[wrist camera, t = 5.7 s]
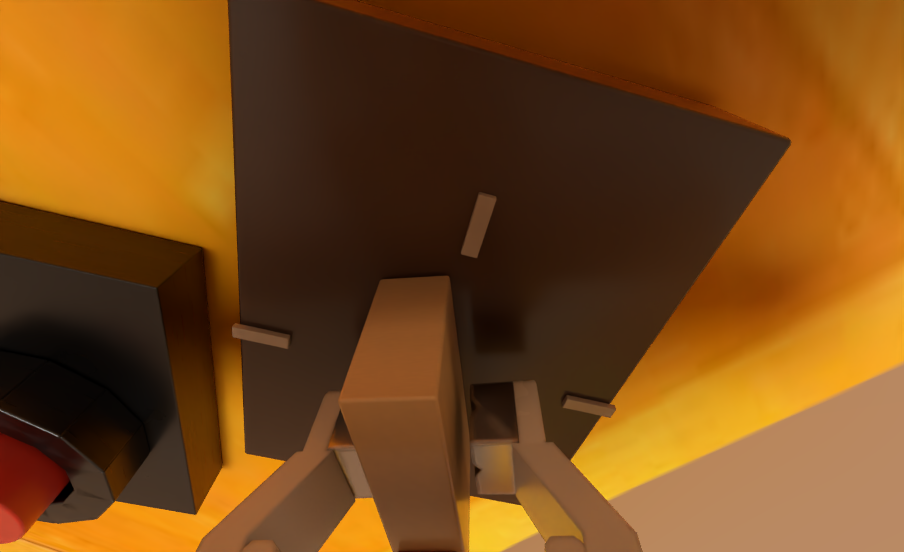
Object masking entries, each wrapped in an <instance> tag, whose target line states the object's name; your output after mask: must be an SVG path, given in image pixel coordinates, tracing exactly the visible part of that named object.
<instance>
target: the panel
mask: <svg viewBox="0 0 904 552" xmlns="http://www.w3.org/2000/svg"><path fill="white" fill-rule="evenodd" d="M228 18H229V44H230V70H231V96H232V122H233V148H234V174H235V200H236V226H237V252H238V278H239V304H240V324H237V323H234V325H233V326H232V337H234V338H239V339H241V355H242V381H243V407H244V433H245V453H247V454H251V455H256V456H262V457H267V458H272V459H278V460H283V461H287V460H288V459H289V458H290V457H291V456H292V455H293V454H294V453H296V452H299V451H303V449H304V446H305V444H306V441H307V439H308V436H309V434H310V431H311V428H312V426H313V423H314V421H315V418H316V416H317V413H318V410H319V408H320V405H321V403H322V400H323V398H324V396H325V395H326V394H327V392H328V391H341V390H342V387H343V385H344V382H345V379H346V376H347V373H348V370H349V367H350V365H351V362H352V359H353V356H354V353H355V350H356V347H357V345H358V342H359V339H360V336H361V333H362V330H363V327H364V325H365V322H366V319H367V316H368V313H369V310H370V307H371V305H372V302H373V299H374V296H375V293H376V290H377V287H378V285H379V282H380V280H382V279H396V278H413V277H430V276H446V275H447V276H449V278H450V283H451V291H452V299H453V307H454V315H455V323H456V331H457V339H458V347H459V356H460V364H461V372H462V380H463V388H464V396H465V404H466V412H467V420H468V428H469V432H470V415H471V413H472V411H471V403H470V385H471V384H479V383H494V382H509V381H512V382H513V381H530V380H534V381H535V382H536V384H537V390H538V396H539V402H540V408H541V414H542V421H543V427H544V433H545V439H546V442H553V443H554V444H555V445H556V446H557V447H558V448H559V449H560V450H561V451H562V452H563V453H564V455H565V456H566V457H567V458H568V459H569V460H571V459H572V457H573V456H574V454H575V453H576V452H577V450H578V449H579V447H580V446H581V444H582V443H583V442H584V440H585V439H586V437H587V436H588V434H589V433H590V431H591V430H592V429H593V427H594V426H595V424H596V423H597V421H598V420H599V419H600V417H601V416H605V417H609V418H610V417H611V416H612V415H613V413H614V412H615V410H616V408H615V405H611V404H610V403H611V401H612V400H613V399H614V397H615V396H616V394H617V393H618V391H619V390H620V389H621V387H622V386H623V384H624V383H625V381H626V380H627V378H628V377H629V376H630V374H631V373H632V371H633V370H634V368H635V367H636V366H637V364H638V363H639V361H640V360H641V358H642V357H643V356H644V354H645V353H646V351H647V350H648V348H649V347H650V346H651V344H652V343H653V341H654V340H655V338H656V337H657V335H658V334H659V333H660V331H661V330H662V328H663V327H664V325H665V324H666V323H667V321H668V320H669V318H670V317H671V315H672V314H673V313H674V311H675V310H676V308H677V307H678V305H679V304H680V303H681V301H682V300H683V298H684V297H685V295H686V294H687V292H688V291H689V290H690V288H691V287H692V285H693V284H694V282H695V281H696V280H697V278H698V277H699V275H700V274H701V272H702V271H703V270H704V268H705V267H706V265H707V264H708V262H709V261H710V260H711V258H712V257H713V255H714V254H715V252H716V251H717V250H718V248H719V247H720V245H721V244H722V242H723V241H724V239H725V238H726V237H727V235H728V234H729V232H730V231H731V229H732V228H733V227H734V225H735V224H736V222H737V221H738V219H739V218H740V217H741V215H742V214H743V212H744V211H745V209H746V208H747V207H748V205H749V204H750V202H751V201H752V199H753V198H754V196H755V195H756V194H757V192H758V191H759V189H760V188H761V186H762V185H763V184H764V182H765V181H766V179H767V178H768V176H769V175H770V174H771V172H772V171H773V169H774V168H775V166H776V165H777V164H778V162H779V161H780V159H781V158H782V156H783V155H784V153H785V152H786V151H787V149H788V148H789V146H790V145H791V140H790V139H789V138H787V137H785V136H782V135H780V134H778V133H775V132H773V131H771V130H768V129H766V128H763V127H761V126H759V125H756V124H754V123H752V122H749V121H747V120H745V119H742V118H740V117H737V116H735V115H733V114H730V113H728V112H726V111H723V110H721V109H718V108H716V107H714V106H710V105H707V104H704V103H700V102H697V101H693V100H690V99H687V98H683V97H680V96H677V95H673V94H670V93H666V92H663V91H660V90H656V89H653V88H649V87H646V86H643V85H639V84H636V83H633V82H629V81H626V80H622V79H619V78H616V77H612V76H609V75H606V74H602V73H599V72H595V71H592V70H589V69H585V68H582V67H579V66H575V65H572V64H568V63H565V62H562V61H558V60H555V59H552V58H548V57H545V56H541V55H538V54H535V53H531V52H528V51H524V50H521V49H518V48H514V47H511V46H508V45H504V44H501V43H497V42H494V41H491V40H487V39H484V38H481V37H477V36H474V35H470V34H467V33H464V32H460V31H457V30H454V29H450V28H447V27H443V26H440V25H437V24H433V23H430V22H426V21H423V20H420V19H416V18H413V17H410V16H406V15H403V14H399V13H396V12H393V11H389V10H386V9H383V8H379V7H376V6H372V5H369V4H366V3H362V2H359V1H356V0H228ZM470 496H474V497H480V498H485V499H490V500H496V501H501V502H506V503H512V504H517V505H521V503H520V502H519V500H518V499H517V497H516V494H478V492H477V487H476V481H475V465H473V463H472V457H471V450H470Z"/></svg>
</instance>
